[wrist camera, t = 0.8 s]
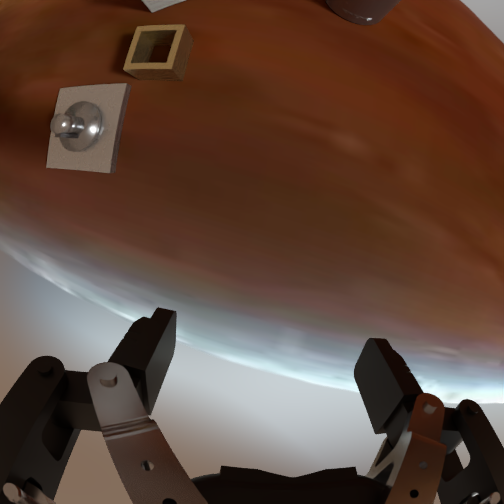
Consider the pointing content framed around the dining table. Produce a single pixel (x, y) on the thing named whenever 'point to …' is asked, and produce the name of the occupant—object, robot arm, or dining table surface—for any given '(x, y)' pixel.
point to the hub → (144, 46)
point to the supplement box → (159, 4)
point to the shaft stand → (88, 127)
